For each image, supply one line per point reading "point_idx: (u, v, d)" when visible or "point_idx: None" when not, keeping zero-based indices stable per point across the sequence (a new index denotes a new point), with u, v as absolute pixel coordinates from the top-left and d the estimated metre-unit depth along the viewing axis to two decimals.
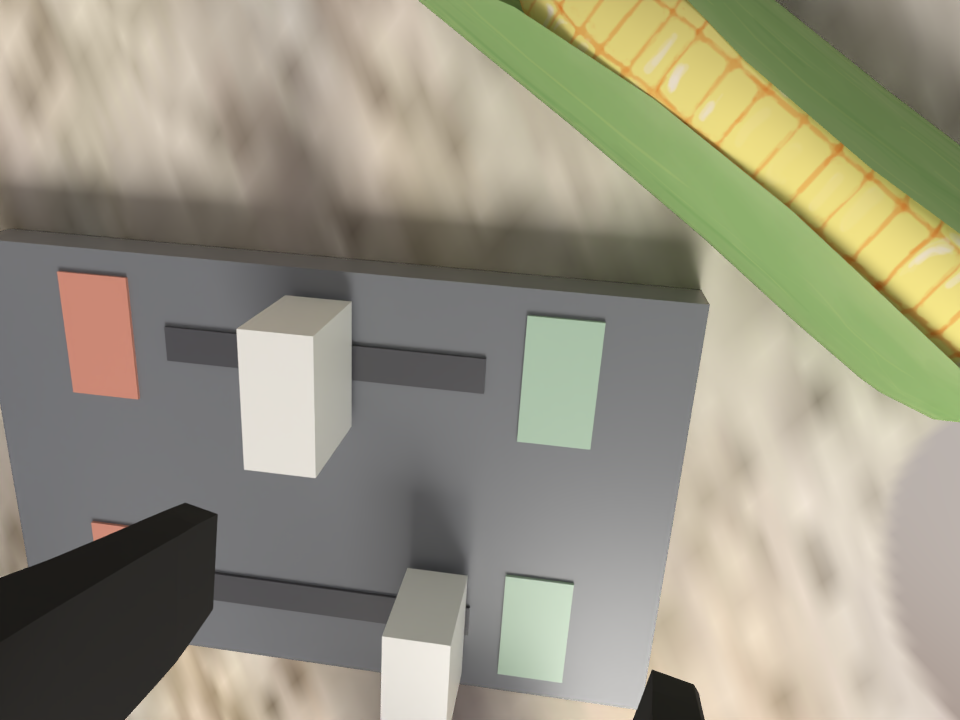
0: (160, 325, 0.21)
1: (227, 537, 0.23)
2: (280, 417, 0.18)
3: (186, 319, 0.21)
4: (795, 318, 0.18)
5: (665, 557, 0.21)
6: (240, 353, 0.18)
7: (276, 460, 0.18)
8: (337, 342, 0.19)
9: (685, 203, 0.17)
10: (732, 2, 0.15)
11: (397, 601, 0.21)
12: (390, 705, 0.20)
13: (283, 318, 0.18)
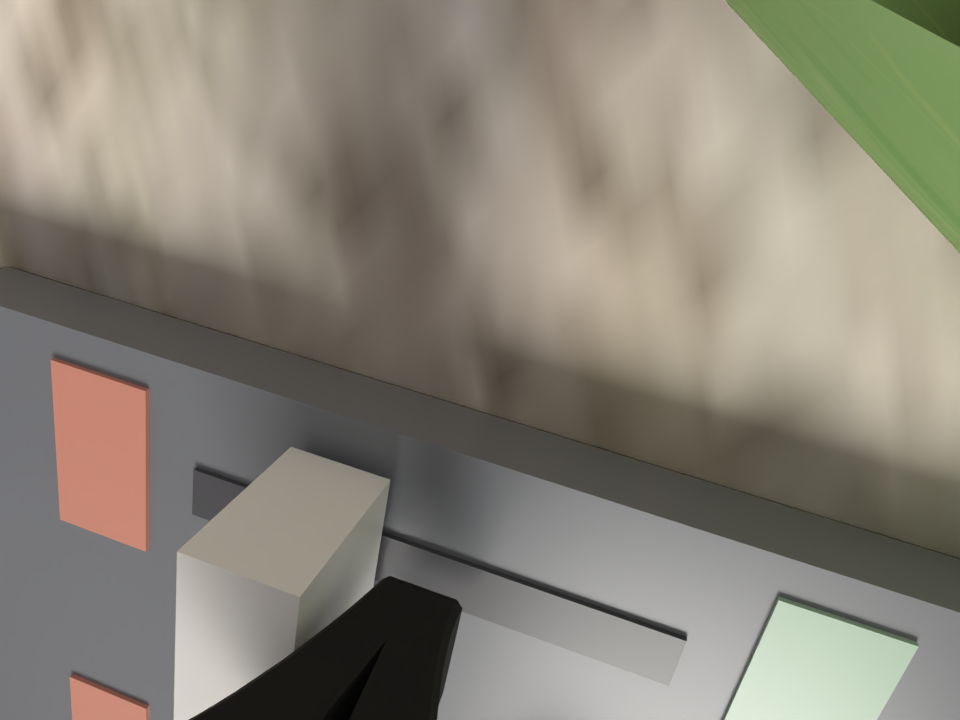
0: (188, 464, 0.14)
1: None
2: (234, 691, 0.11)
3: (227, 466, 0.14)
4: None
5: None
6: (181, 582, 0.10)
7: None
8: (353, 559, 0.12)
9: None
10: None
11: None
12: None
13: (266, 523, 0.11)
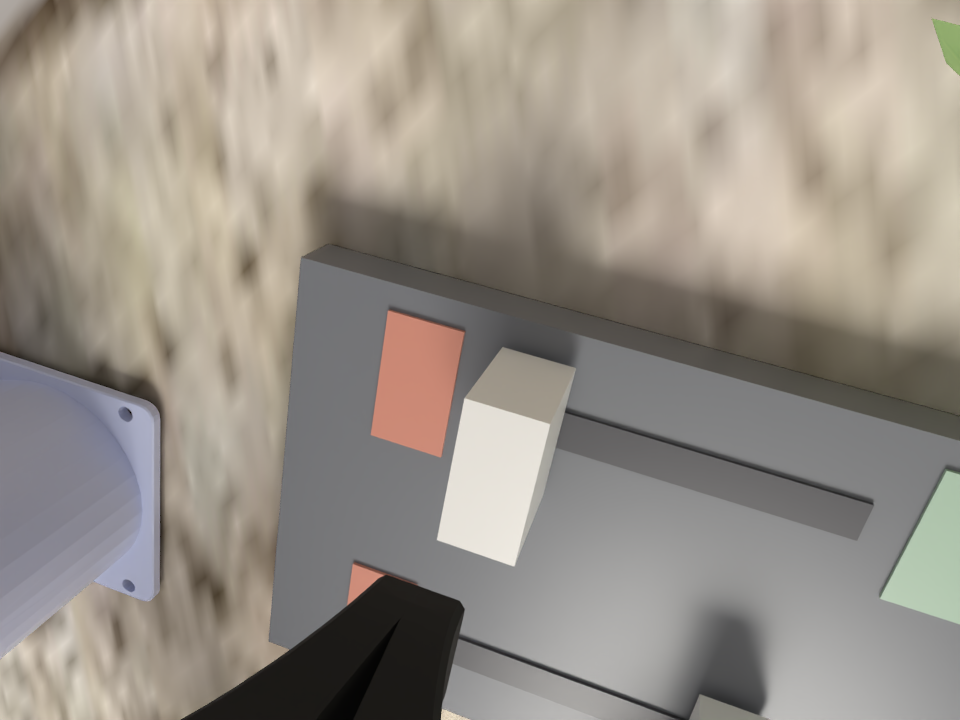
0: None
1: (497, 612, 0.21)
2: (490, 498, 0.16)
3: None
4: None
5: None
6: (460, 422, 0.16)
7: (475, 539, 0.16)
8: (559, 417, 0.17)
9: None
10: None
11: None
12: None
13: (510, 387, 0.16)
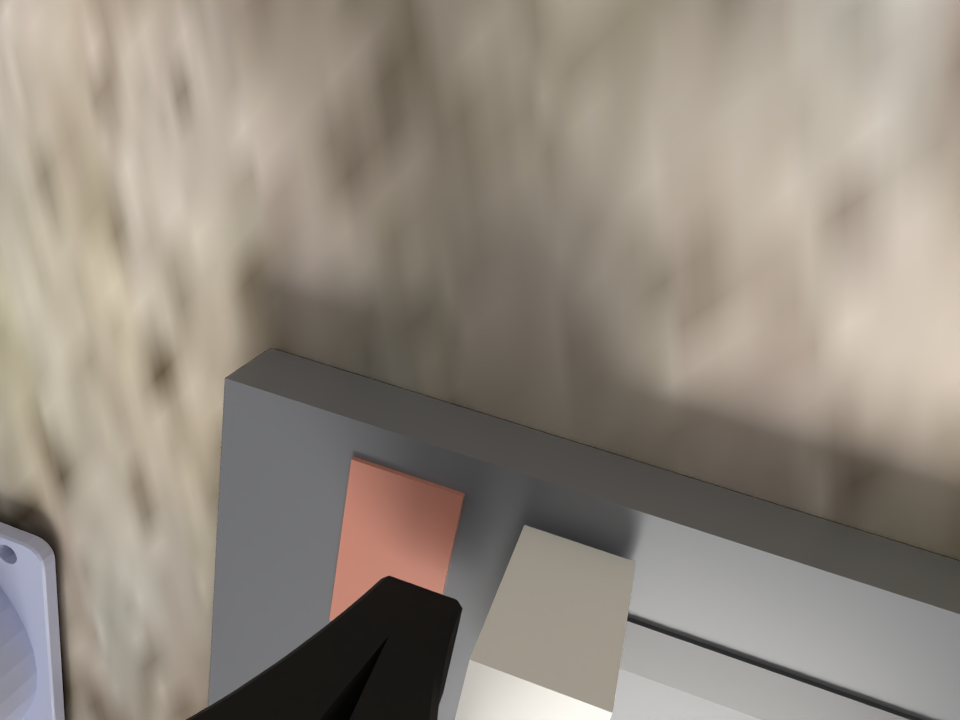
0: (498, 572, 0.13)
1: None
2: None
3: None
4: None
5: None
6: (463, 688, 0.10)
7: None
8: None
9: None
10: None
11: None
12: None
13: (541, 621, 0.10)
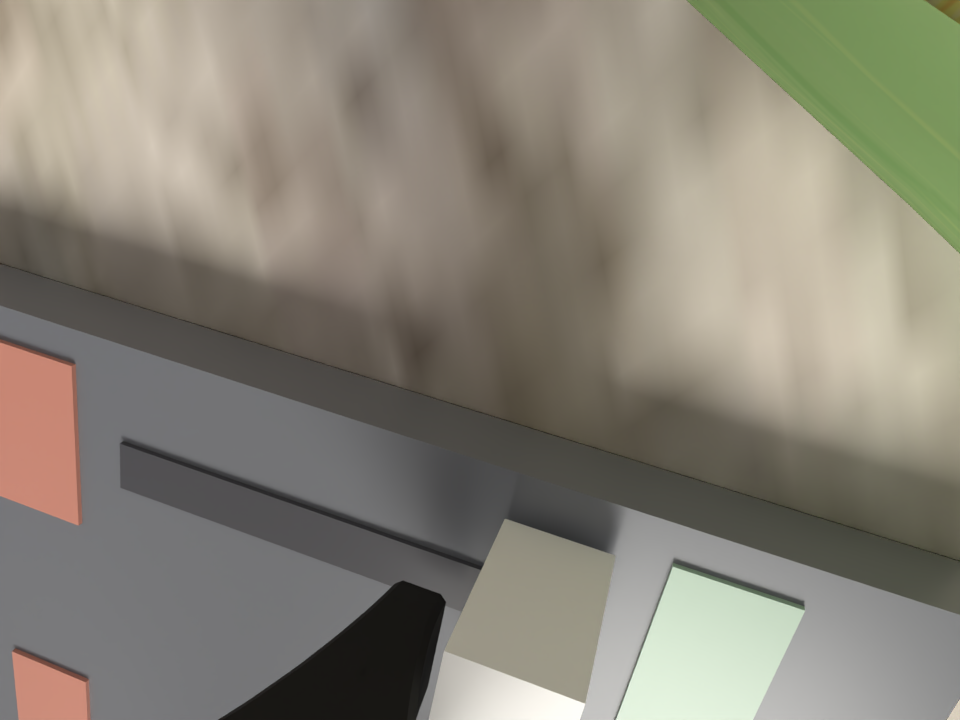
0: (115, 439, 0.14)
1: (181, 717, 0.17)
2: None
3: (151, 440, 0.14)
4: None
5: None
6: (439, 680, 0.10)
7: None
8: None
9: None
10: None
11: None
12: None
13: (518, 613, 0.10)
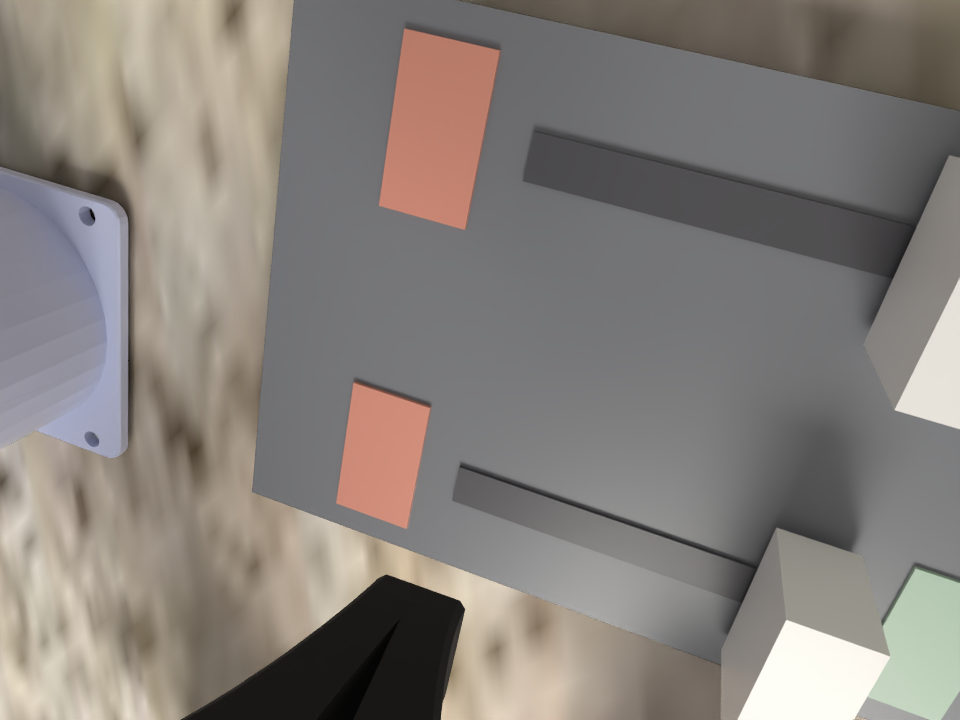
0: (527, 129, 0.15)
1: (527, 436, 0.18)
2: None
3: (568, 125, 0.15)
4: None
5: None
6: None
7: None
8: None
9: None
10: None
11: (784, 572, 0.15)
12: (757, 712, 0.14)
13: None
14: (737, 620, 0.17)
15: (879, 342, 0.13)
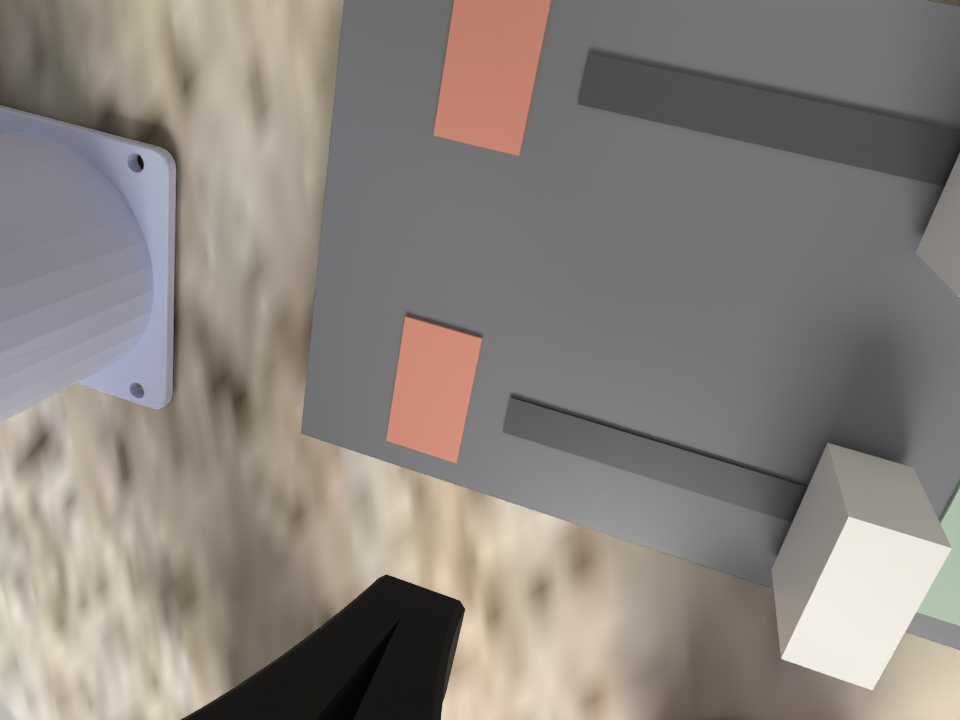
0: (582, 51, 0.15)
1: (579, 364, 0.18)
2: None
3: (623, 46, 0.15)
4: None
5: None
6: None
7: None
8: None
9: None
10: None
11: (841, 478, 0.15)
12: (818, 613, 0.15)
13: None
14: (788, 538, 0.17)
15: (935, 244, 0.14)
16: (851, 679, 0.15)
